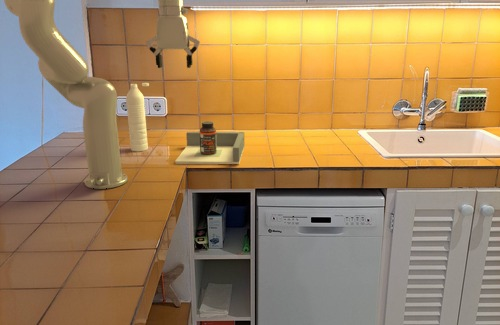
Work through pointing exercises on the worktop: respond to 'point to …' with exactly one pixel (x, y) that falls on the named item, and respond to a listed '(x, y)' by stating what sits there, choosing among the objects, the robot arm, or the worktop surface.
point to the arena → (226, 144)
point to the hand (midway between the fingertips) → (174, 67)
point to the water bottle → (137, 118)
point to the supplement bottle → (208, 138)
